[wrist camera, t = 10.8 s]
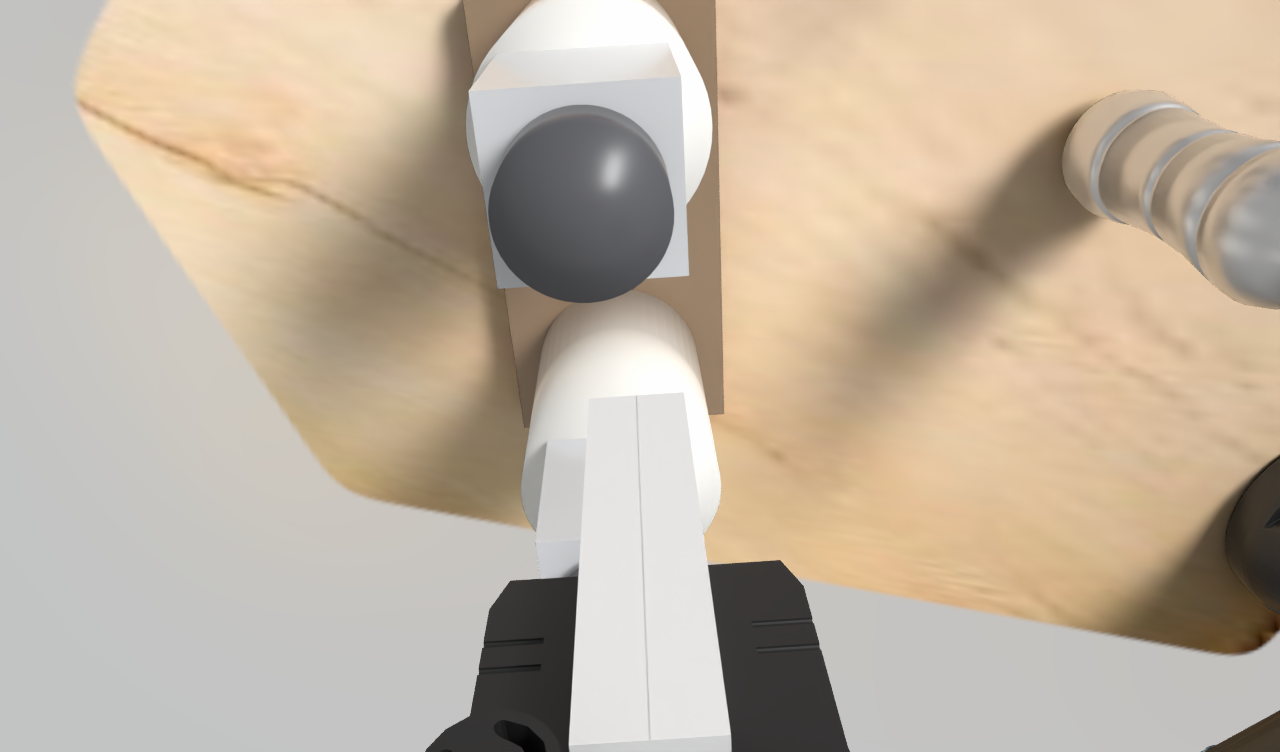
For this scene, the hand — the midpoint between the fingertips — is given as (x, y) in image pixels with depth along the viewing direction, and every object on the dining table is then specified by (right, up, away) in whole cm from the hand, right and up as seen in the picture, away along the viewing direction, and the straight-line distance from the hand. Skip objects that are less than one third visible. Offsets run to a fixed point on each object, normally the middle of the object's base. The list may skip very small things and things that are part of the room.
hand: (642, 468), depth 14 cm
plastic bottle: (+25, +14, +34) cm, 45 cm away
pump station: (-2, +10, +35) cm, 37 cm away
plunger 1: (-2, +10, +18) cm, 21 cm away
